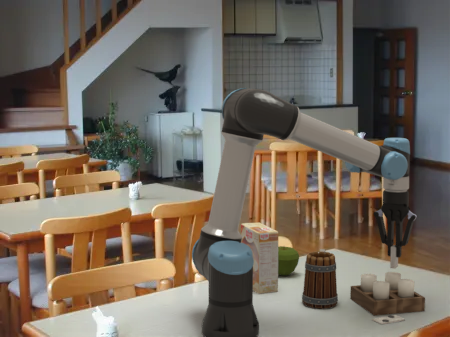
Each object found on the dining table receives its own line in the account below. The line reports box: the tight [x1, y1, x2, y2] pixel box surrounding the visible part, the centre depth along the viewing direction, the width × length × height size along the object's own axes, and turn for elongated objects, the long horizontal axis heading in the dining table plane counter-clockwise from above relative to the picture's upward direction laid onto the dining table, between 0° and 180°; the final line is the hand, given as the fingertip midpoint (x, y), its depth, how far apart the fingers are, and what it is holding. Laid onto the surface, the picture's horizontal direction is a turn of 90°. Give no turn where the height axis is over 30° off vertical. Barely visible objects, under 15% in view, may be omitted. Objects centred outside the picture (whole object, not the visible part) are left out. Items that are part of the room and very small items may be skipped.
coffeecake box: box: [240, 221, 279, 295], centre depth 235 cm, size 15×7×20 cm, turn 21°
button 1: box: [360, 273, 378, 292], centre depth 220 cm, size 5×5×5 cm
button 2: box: [373, 280, 389, 301], centre depth 213 cm, size 5×5×5 cm
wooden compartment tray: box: [349, 284, 426, 317], centre depth 218 cm, size 16×16×4 cm
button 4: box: [398, 278, 415, 298], centre depth 215 cm, size 5×5×5 cm
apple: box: [278, 245, 300, 277], centre depth 250 cm, size 11×10×10 cm
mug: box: [301, 248, 339, 310], centre depth 221 cm, size 16×11×15 cm
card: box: [371, 314, 406, 326], centre depth 205 cm, size 8×4×1 cm, turn 115°
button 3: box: [384, 271, 402, 290], centre depth 223 cm, size 5×5×5 cm
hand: (394, 267), depth 222 cm, fingers closed
